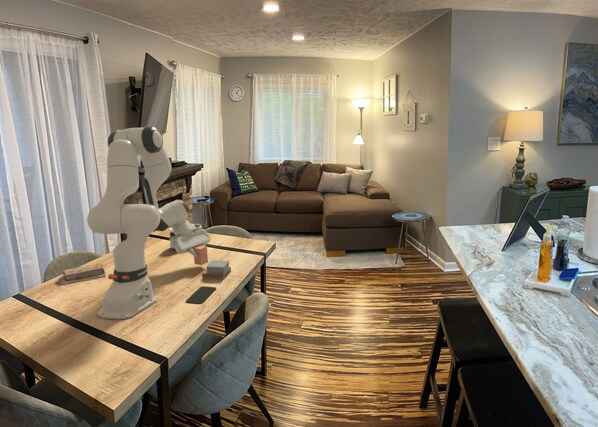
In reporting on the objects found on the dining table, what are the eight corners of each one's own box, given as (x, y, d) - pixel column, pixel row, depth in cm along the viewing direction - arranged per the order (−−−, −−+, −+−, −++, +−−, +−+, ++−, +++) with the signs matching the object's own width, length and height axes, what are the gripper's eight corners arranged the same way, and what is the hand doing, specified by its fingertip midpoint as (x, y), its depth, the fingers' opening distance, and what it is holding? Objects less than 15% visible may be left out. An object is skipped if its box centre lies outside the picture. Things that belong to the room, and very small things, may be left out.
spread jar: (169, 247, 226) (167, 227, 223) (190, 244, 231) (188, 224, 228) (172, 253, 216) (170, 232, 213) (194, 250, 220) (192, 229, 217)
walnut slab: (223, 281, 179) (223, 274, 178) (202, 279, 181) (201, 273, 180) (231, 272, 189) (230, 266, 188) (210, 271, 190) (210, 265, 190)
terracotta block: (201, 265, 190) (200, 249, 189) (194, 263, 193) (193, 247, 191) (208, 262, 194) (206, 246, 192) (201, 260, 196) (199, 245, 195)
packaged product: (102, 261, 193) (104, 267, 184) (103, 270, 194) (105, 277, 185) (59, 268, 184) (59, 275, 175) (60, 278, 185) (61, 286, 177)
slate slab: (224, 273, 180) (223, 267, 179) (206, 272, 181) (206, 266, 180) (229, 266, 188) (228, 260, 187) (212, 266, 189) (211, 260, 188)
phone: (184, 301, 157) (201, 286, 172) (184, 303, 158) (201, 287, 172) (201, 303, 156) (217, 287, 170) (201, 305, 156) (217, 289, 170)
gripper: (171, 233, 184) (188, 257, 182) (202, 223, 202) (218, 245, 199) (165, 241, 188) (182, 264, 185) (196, 231, 205) (212, 252, 202)
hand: (201, 254), depth 192 cm, fingers closed on terracotta block, 4 cm apart
